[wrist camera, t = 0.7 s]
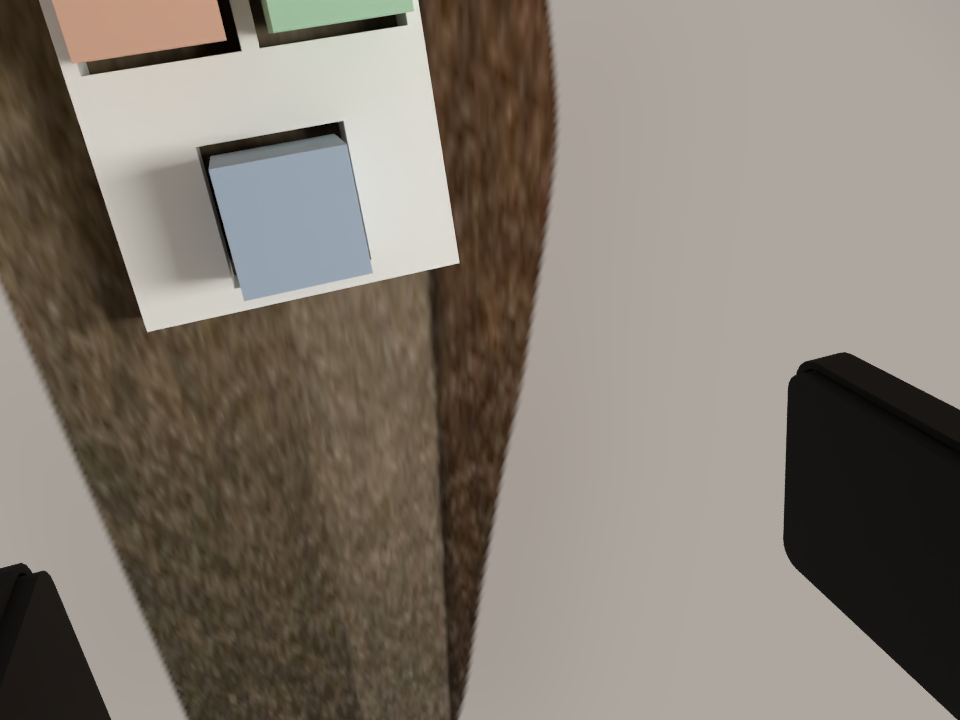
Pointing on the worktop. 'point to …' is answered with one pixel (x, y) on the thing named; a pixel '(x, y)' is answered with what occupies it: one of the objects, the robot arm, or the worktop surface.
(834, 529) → the robot arm
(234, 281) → the key console
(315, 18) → the sage key
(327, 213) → the slate key
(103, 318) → the worktop surface
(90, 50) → the terracotta key
